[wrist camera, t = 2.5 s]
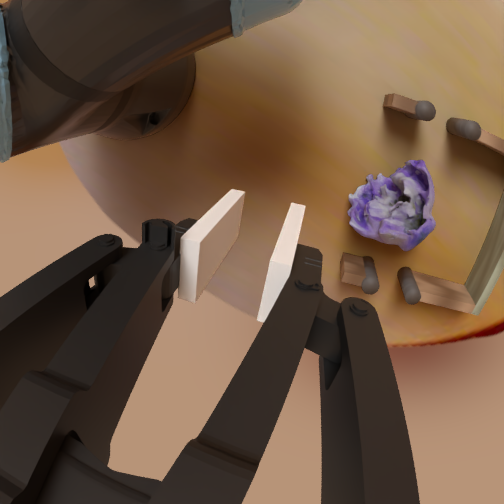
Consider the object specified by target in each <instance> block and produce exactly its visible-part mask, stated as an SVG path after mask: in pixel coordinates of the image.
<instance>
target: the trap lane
mask: <svg viewBox="0 0 504 504" xmlns="http://www.w3.org/2000/svg"><path fill="white" fill-rule="evenodd" d="M383 106H385V107H388V108H391V109H394V110H397V111H400V112H403V113H405V115H406V116H407V117H409V118H413V119H418V120H424V121H430V120H432V119H433V118H434V117H435V114H436V110H435V107H434V105H433V104H432V103H431V102H429V101H415V100H412V99H409V98H407V97H404V96H401V95H398V94H395V93H394V94H388V95H385V99H384V104H383ZM446 127H447V130H448V131H449V132H450V133H451V134H453V135H457V136H460V137H463V138H467V139H470V140H473V141H475V142H478V143H480V144H482V145H484V146H486V147H488V148H490V149H492V150H494V151H496V152H498V153H500V154H502V155H504V140H503V139H501V138H499V137H497V136H495V135H493V134H491V133H489V132H487V131H485V130H483V129H481V127H480V125H479V124H478V123H477V122H475V121H470V120H465V119H459V118H450V119H448V121H447V124H446ZM340 264H341V282H344V283H348V284H352V285H356V286H360V287H362V290H363V291H364V292H365V293H366V294H374V293H376V292H377V291H378V289H379V282H378V277H377V273H376V268H375V264H374V260H373V259H372V258H371V257H369V256H365V257H359V256H355V255H351V254H348V253H344V252H343V255H342V258H341V261H340ZM503 268H504V191H503V194H502V197H501V200H500V203H499V206H498V208H497V211H496V214H495V217H494V219H493V222H492V224H491V227H490V230H489V232H488V235H487V237H486V239H485V242H484V244H483V246H482V249H481V251H480V253H479V256H478V258H477V260H476V262H475V264H474V267H473V269H472V271H471V273H470V275H469V277H468V279H467V281H466V283H465V285H462V284H458V283H455V282H451V281H447V280H444V279H440V278H437V277H433V276H430V275H426V274H422V273H419V272H415V271H411V269H410V268H409V267H402V268H401V269H400V270H399V271H398V278H399V281H400V284H401V287H402V291H403V294H404V297H405V300H406V302H407V303H408V304H411V305H412V304H416V303H418V302H419V301H421V302H425V303H429V304H433V305H437V306H441V307H445V308H449V309H453V310H458V311H462V312H466V313H470V314H474V315H479V313H480V312H481V310H482V308H483V307H484V305H485V303H486V301H487V299H488V298H489V296H490V294H491V292H492V290H493V288H494V286H495V284H496V282H497V280H498V278H499V276H500V274H501V272H502V270H503Z"/></svg>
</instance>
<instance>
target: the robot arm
mask: <svg viewBox="0 0 504 504" xmlns="http://www.w3.org/2000/svg"><path fill="white" fill-rule="evenodd" d="M301 2H302V0H9V1H7V2H5V3H3V4H1V3H0V162H5V161H7V160H9V158H10V157H13V156H16V155H19V154H21V153H24V152H27V151H30V150H34V149H37V148H40V147H43V146H46V145H50V144H53V143H56V142H60V141H63V140H67V139H71V138H74V137H78V136H82V135H86V134H90V133H94V134H98V135H101V136H105V137H109V138H113V139H118V140H132V139H138V138H142V137H145V136H149V135H152V134H154V133H157V132H158V131H160V130H162V129H163V128H165V127H166V126H168V125H169V124H170V123H171V122H172V121H173V120H174V119H175V118H176V117H177V116H178V115H179V113H180V112H181V111H182V109H183V108H184V106H185V104H186V102H187V100H188V98H189V96H190V94H191V91H192V87H193V84H194V78H195V58H194V52H196V51H198V50H201V49H203V48H205V47H207V46H210V45H212V44H215V43H217V42H219V41H222V40H224V39H227V38H229V37H232V36H234V38H236V37H239V36H241V35H242V34H243V32H244V31H245V30H248V29H250V28H252V27H254V26H257V25H259V24H261V23H264V22H266V21H269V20H272V19H274V18H277V17H280V16H283V15H285V14H287V13H290V12H291V11H293V10H294V9H295V8H296V7H298V6H299V4H300V3H301ZM244 197H245V192H244V191H239V190H235V189H231V190H230V191H229V192H228V193H227V194H226V195H225V196H224V197H223V198H221V199H220V200H219V201H218V202H217V203H216V204H215V205H214V206H213V207H212V208H211V209H210V210H209V211H208V212H207V213H206V214H205V215H203V216H202V217H201V218H200V219H199V220H195V219H190V218H188V219H186V220H183V221H180V222H179V223H178V224H177V225H176V226H175V224H174V223H173V222H171V221H168V220H165V219H151V220H147V221H145V222H144V223H142V244H141V245H140V246H139V247H138V248H126V247H123V242H122V239H121V238H120V237H118V236H116V235H112V234H104V235H100V236H97V237H95V238H93V239H92V240H90V241H88V242H86V243H85V244H83V245H82V246H80V247H78V248H76V249H74V250H73V251H71V252H69V253H68V254H66V255H64V256H63V257H61V258H60V259H58V260H56V261H55V262H53V263H52V264H50V265H48V266H47V267H46V268H44V269H42V270H41V271H39V272H37V273H36V274H34V275H33V276H31V277H30V278H28V279H27V280H25V281H24V282H22V283H21V284H19V285H18V286H16V287H15V288H13V289H12V290H10V291H9V292H8V293H6V294H4V295H3V296H2V297H0V504H242V501H243V499H244V497H245V495H246V493H247V491H248V489H249V487H250V485H251V482H252V480H253V478H254V476H255V473H256V471H257V468H258V466H259V462H260V460H261V458H262V456H263V453H264V451H265V448H266V446H267V444H268V441H269V439H270V437H271V434H272V432H273V430H274V427H275V425H276V422H277V420H278V417H279V414H280V412H281V410H282V407H283V405H284V402H285V399H286V397H287V394H288V392H289V389H290V386H291V384H292V381H293V378H294V375H295V373H296V370H297V367H298V364H299V362H300V359H301V356H302V353H303V350H304V348H306V349H308V350H310V351H312V352H314V353H316V354H318V355H320V356H319V372H320V396H321V432H322V433H321V435H322V489H321V492H322V493H321V504H420V501H419V493H418V486H417V479H416V473H415V467H414V461H413V456H412V450H411V445H410V440H409V435H408V429H407V425H406V420H405V416H404V411H403V407H402V402H401V398H400V394H399V390H398V385H397V382H396V378H395V374H394V370H393V366H392V363H391V359H390V355H389V352H388V348H387V344H386V341H385V337H384V334H383V331H382V327H381V324H380V321H379V318H378V314H377V312H376V310H375V308H374V307H373V306H372V305H371V304H370V303H369V302H367V301H365V300H363V299H359V298H353V297H350V298H346V299H344V300H343V301H342V303H338V302H336V301H334V300H332V299H331V298H329V297H328V296H327V295H325V294H324V292H323V286H322V284H321V271H322V254H321V252H320V251H319V249H316V248H312V247H308V246H304V245H301V244H297V242H298V238H299V233H300V229H301V225H302V220H303V216H304V211H305V206H304V205H300V204H296V203H291V206H290V208H289V211H288V214H287V217H286V219H285V222H284V225H283V227H282V230H281V233H280V236H279V238H278V241H277V244H276V246H275V249H274V252H273V254H272V257H271V260H270V264H269V268H268V273H267V277H266V282H265V286H264V291H263V295H262V300H261V304H260V309H259V313H258V318H257V321H259V322H263V325H262V327H261V329H260V331H259V333H258V334H257V336H256V338H255V340H254V342H253V343H252V345H251V347H250V349H249V351H248V352H247V354H246V356H245V357H244V359H243V361H242V363H241V365H240V366H239V368H238V370H237V372H236V373H235V375H234V377H233V378H232V380H231V382H230V384H229V385H228V387H227V389H226V391H225V392H224V394H223V396H222V398H221V399H220V401H219V403H218V404H217V406H216V408H215V409H214V411H213V413H212V414H211V416H210V418H209V419H208V421H207V423H206V424H205V426H204V428H203V429H202V431H201V433H200V434H199V435H198V437H197V438H196V439H192V440H190V442H188V444H187V445H186V446H185V448H184V449H183V450H182V452H181V453H180V455H179V457H178V458H177V459H176V461H175V463H174V464H173V466H172V467H171V469H170V470H169V472H168V473H167V475H166V476H165V478H164V479H163V481H162V482H161V481H159V480H155V479H150V478H145V477H140V476H134V475H130V474H125V473H121V472H117V471H114V470H111V469H110V468H109V467H107V465H108V462H109V457H110V442H111V439H112V436H113V434H114V431H115V429H116V427H117V424H118V422H119V419H120V417H121V415H122V412H123V410H124V408H125V406H126V403H127V401H128V399H129V397H130V394H131V392H132V389H133V388H134V385H135V383H136V381H137V379H138V376H139V374H140V372H141V370H142V367H143V365H144V363H145V361H146V359H147V356H148V355H149V352H150V350H151V348H152V346H153V344H154V342H155V340H156V337H157V335H158V333H159V331H160V329H161V327H162V325H163V323H164V320H165V318H166V316H167V314H168V312H169V310H170V308H171V306H172V304H173V293H174V292H175V290H176V289H177V288H178V298H180V299H183V300H187V301H190V302H193V303H196V301H197V300H198V298H199V297H200V295H201V293H202V292H203V290H204V289H205V287H206V286H207V284H208V283H209V281H210V279H211V278H212V276H213V275H214V273H215V272H216V270H217V269H218V267H219V266H220V264H221V262H222V261H223V259H224V258H225V256H226V255H227V253H228V252H229V250H230V249H231V247H232V246H233V244H234V243H235V241H236V239H237V238H238V235H239V228H240V222H241V216H242V209H243V203H244ZM93 276H94V280H95V285H94V286H93V287H91V288H90V286H89V279H90V278H92V277H93Z"/></svg>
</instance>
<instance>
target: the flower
mask: <svg viewBox="0 0 504 504" xmlns="http://www.w3.org/2000/svg"><path fill="white" fill-rule="evenodd" d="M405 164H406V165H405V166H404V167H403V168H398V169H397V170H396V172H395V173H394V174H393V175H391V176H390V178H386V177H384V176H383V175H382V174H381V173H380V174H379V175H378V176H377V179H376V180H374V179H373V175H372V174H370V175H368V176H367V177H366V179H367V181H368V184H366V185H361V186H359V187H358V188H357V190H356V192H355V193H354V195H352V194H350V195H349V202H350V203H351V205H352V207H351V208H350V209H349V210H348V215H349V216H350V217H351V220H350V221H349V224H350V225H351V226H352V227H353V228H354V230H355V231H356V232H358V233H359V234H360V235H362V236H364V237H367V238H372V239H374V240H377V241H379V242H382V243H386V244H395V245H399V247H400V248H401V249H402V250H403V251H409V250H411V249H413V248H414V247H415V246H416V245H418V244H419V243H420V242H422V241H423V240H424V239H425V238H426V237H427V235H428V234H429V233H430V232H432V231H433V230H434V228H435V225H436V222H435V220H434V218H433V217H432V215H431V212H432V207H433V203H434V194H435V193H434V185H433V182H432V178H431V175H430V173H429V172H428V170H427V168H426V165H425V162H424V161H423V160H418V161H416V160H409V161H407V162H406V163H405ZM365 171H366V170H365Z"/></svg>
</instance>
